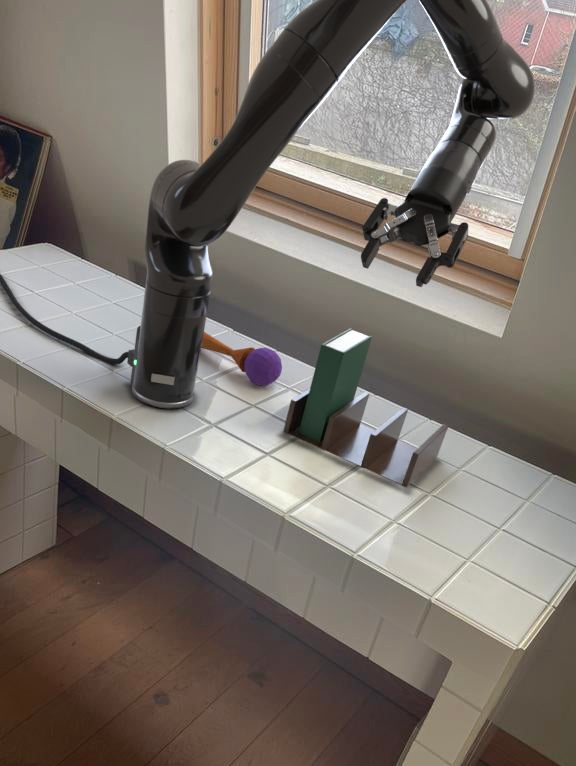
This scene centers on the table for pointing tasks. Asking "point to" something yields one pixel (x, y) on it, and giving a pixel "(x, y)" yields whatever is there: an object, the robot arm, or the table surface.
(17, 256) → the table surface
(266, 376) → the kendama
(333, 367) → the book
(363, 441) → the rack
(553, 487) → the table surface
